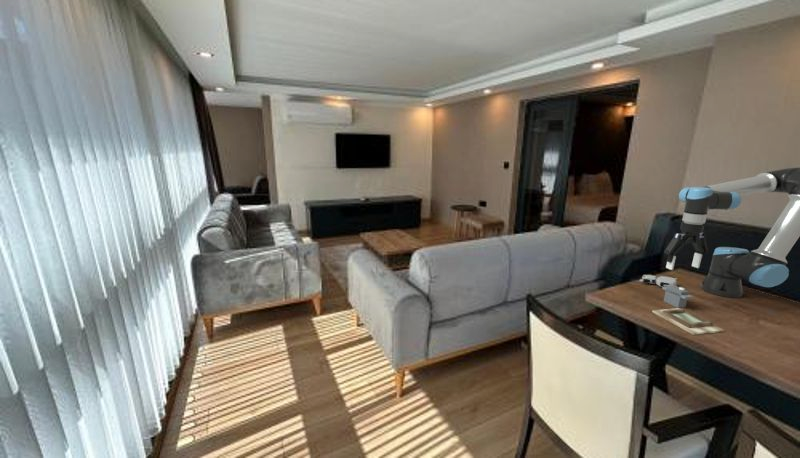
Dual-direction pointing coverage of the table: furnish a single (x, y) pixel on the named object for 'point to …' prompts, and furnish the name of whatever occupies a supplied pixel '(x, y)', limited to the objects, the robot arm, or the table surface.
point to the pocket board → (688, 321)
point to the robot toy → (659, 280)
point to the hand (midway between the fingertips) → (682, 268)
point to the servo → (676, 296)
